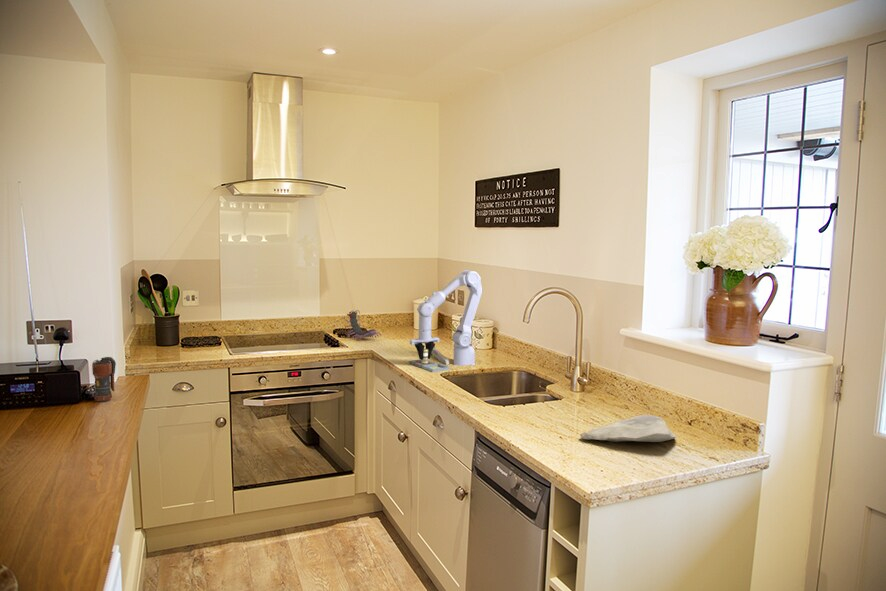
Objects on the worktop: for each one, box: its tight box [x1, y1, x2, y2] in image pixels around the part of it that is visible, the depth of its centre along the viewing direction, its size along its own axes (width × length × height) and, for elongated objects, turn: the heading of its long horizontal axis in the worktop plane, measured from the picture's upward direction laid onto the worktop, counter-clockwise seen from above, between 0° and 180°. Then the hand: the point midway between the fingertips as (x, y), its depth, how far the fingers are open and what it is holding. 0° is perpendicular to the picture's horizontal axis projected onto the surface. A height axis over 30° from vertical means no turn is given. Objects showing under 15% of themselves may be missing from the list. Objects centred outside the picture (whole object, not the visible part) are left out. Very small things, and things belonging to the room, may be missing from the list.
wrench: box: [431, 345, 450, 366], centre depth 291 cm, size 8×2×30 cm
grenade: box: [91, 356, 117, 403], centre depth 213 cm, size 6×8×15 cm
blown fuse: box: [420, 348, 429, 364], centre depth 274 cm, size 3×3×6 cm
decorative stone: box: [579, 414, 677, 443], centre depth 186 cm, size 28×7×30 cm
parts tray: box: [421, 362, 451, 373], centre depth 269 cm, size 9×9×2 cm
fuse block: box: [408, 359, 436, 369], centre depth 277 cm, size 8×10×2 cm
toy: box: [343, 310, 382, 341], centre depth 342 cm, size 12×26×15 cm, turn 39°
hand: (424, 358), depth 274 cm, fingers closed on blown fuse, 3 cm apart
